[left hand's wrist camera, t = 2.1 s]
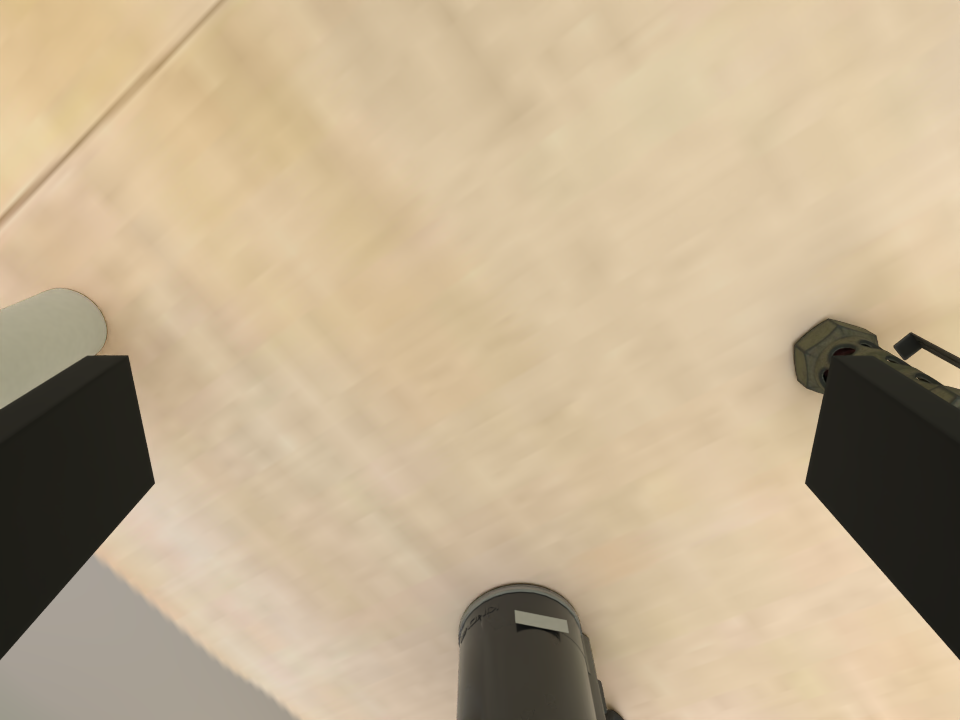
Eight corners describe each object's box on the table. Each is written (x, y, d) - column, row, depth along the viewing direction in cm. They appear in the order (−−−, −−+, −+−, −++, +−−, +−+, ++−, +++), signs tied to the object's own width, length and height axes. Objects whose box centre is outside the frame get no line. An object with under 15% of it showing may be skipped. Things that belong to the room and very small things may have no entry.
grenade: (815, 423, 43) (976, 571, 29) (765, 365, 42) (909, 492, 28) (933, 336, 41) (1168, 452, 27) (884, 271, 40) (1105, 358, 26)
